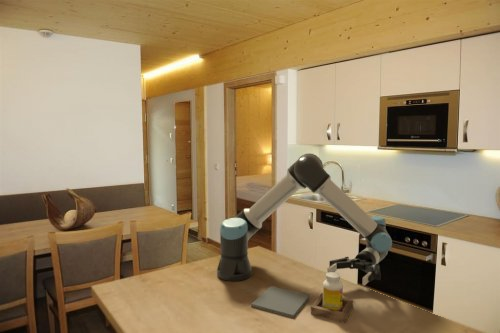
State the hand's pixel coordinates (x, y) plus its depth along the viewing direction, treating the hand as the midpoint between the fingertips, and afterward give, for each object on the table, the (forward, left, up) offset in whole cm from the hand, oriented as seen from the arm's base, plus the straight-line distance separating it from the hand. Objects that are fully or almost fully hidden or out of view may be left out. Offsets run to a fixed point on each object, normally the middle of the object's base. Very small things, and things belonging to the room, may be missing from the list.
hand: (345, 276), depth 128 cm
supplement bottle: (-2, -10, -9) cm, 13 cm away
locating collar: (-2, -10, -9) cm, 13 cm away
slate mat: (-20, -13, -9) cm, 25 cm away
